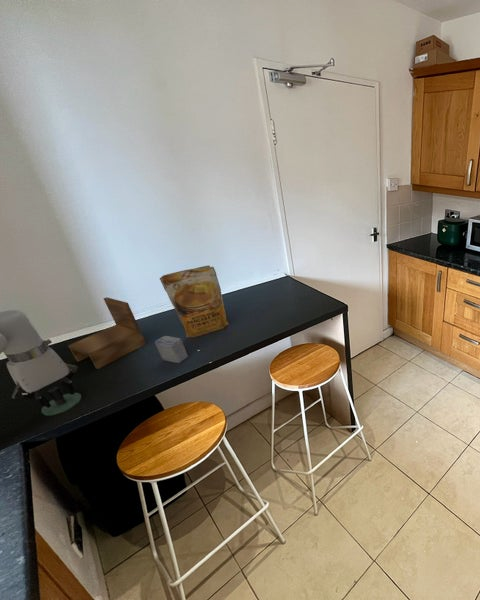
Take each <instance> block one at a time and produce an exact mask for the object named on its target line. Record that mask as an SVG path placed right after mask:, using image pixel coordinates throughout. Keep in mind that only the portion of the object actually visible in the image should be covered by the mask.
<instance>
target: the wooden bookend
mask: <svg viewBox="0 0 480 600" xmlns="http://www.w3.org/2000/svg"><path fill="white" fill-rule="evenodd" d="M103 301H104V303H105V305H106V307H107V309H108V311H109V313H110V315H111V317H112V320H113V321H114V323H115V324H114V325H112V326H110V327H107V328H105V329H103V330H101V331H98V332H96V333H94V334H91V335H89V336H87V337H84V338H83V339H79V340H78V341H76V342H72V343H71V344H69V345H67V347H68V349H69V350H70V352H71V354H72V355H73V357H74V359H75V360H76V362H81V361H83V360H85V359H87V358H90V360H91V362H92V364H93V365H94V368H95V369H97V370H99V369H101V368H103V367H105V366H107V365H108V364H110V363H112V362H114V361H116V360H118V359H120V358H122V357H124V356H126V355H128V354H130V353H132V352H133V351H136V350H137V349H140V348H142V347H143V346H146V345H147V342H146V340H145V337H144V335H143V333H142V331H141V328H140V326H139V325H138V321H137V320H136V318H135V316H134V313H133V311H132V308H131V306H130V304H129V302H126V301H124V300H123V301H122V300H120V299H116V298H112V297H104V298H103Z"/></svg>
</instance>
